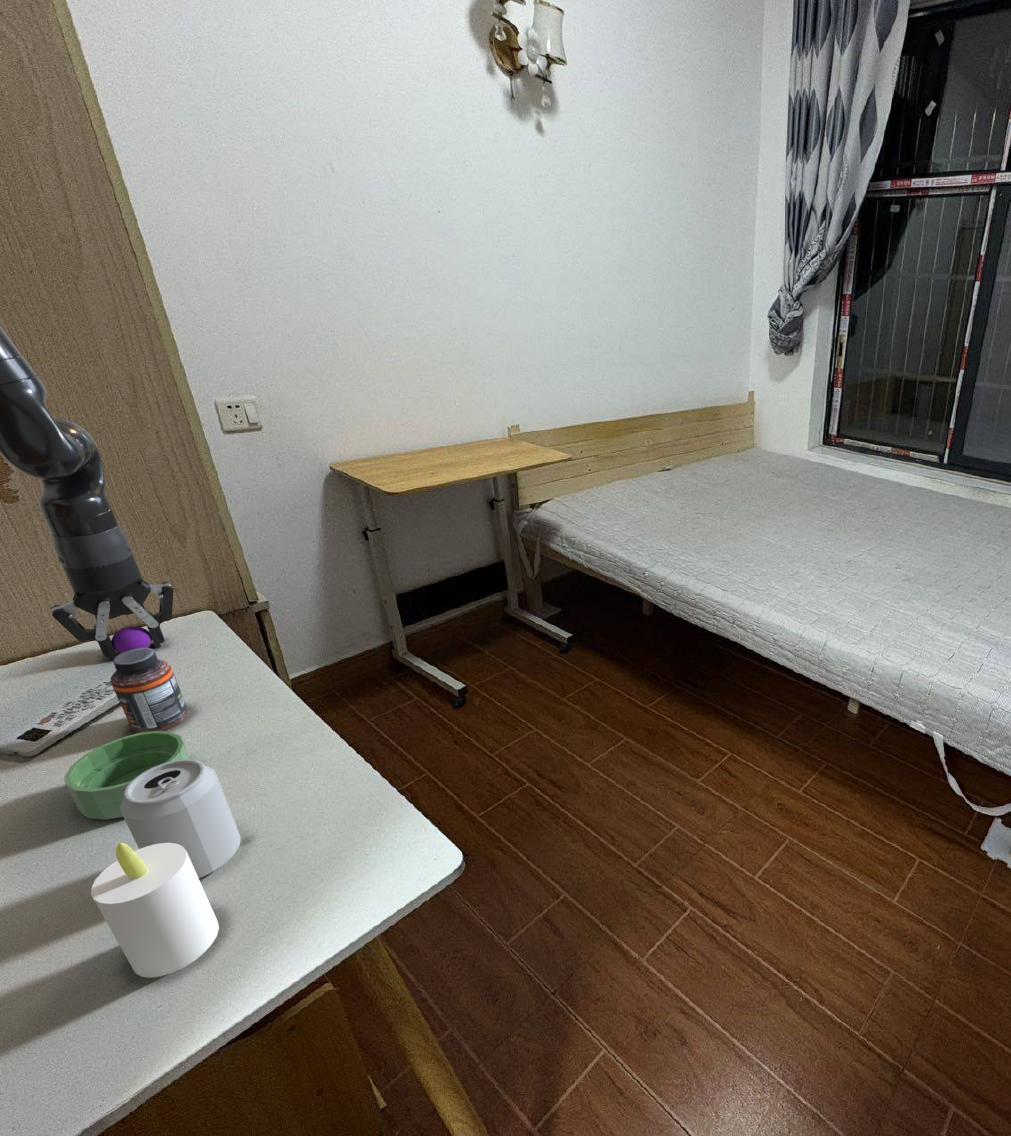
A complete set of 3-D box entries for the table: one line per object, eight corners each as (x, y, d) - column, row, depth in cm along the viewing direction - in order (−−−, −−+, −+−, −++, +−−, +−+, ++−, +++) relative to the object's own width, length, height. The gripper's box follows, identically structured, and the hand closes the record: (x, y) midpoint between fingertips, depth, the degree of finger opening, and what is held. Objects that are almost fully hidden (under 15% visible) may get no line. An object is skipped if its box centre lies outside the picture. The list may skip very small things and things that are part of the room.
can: (224, 822, 73) (193, 743, 68) (256, 852, 70) (225, 772, 64) (141, 867, 67) (101, 784, 62) (172, 903, 64) (131, 819, 58)
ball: (109, 660, 98) (98, 635, 96) (131, 644, 102) (121, 620, 100) (142, 660, 98) (132, 635, 96) (163, 644, 102) (154, 621, 101)
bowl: (55, 826, 70) (37, 793, 68) (125, 761, 80) (111, 731, 78) (157, 821, 72) (142, 789, 70) (214, 759, 81) (203, 729, 79)
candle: (222, 903, 64) (176, 796, 58) (216, 957, 59) (165, 847, 53) (139, 933, 61) (81, 823, 54) (126, 992, 56) (61, 880, 49)
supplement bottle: (126, 723, 86) (96, 655, 81) (181, 703, 90) (155, 638, 85) (140, 742, 83) (109, 673, 78) (196, 720, 87) (170, 654, 82)
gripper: (156, 537, 100) (189, 627, 107) (25, 559, 90) (70, 657, 97) (164, 552, 95) (198, 645, 103) (27, 577, 86) (75, 678, 93)
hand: (136, 650), depth 100 cm, fingers closed on ball, 4 cm apart
